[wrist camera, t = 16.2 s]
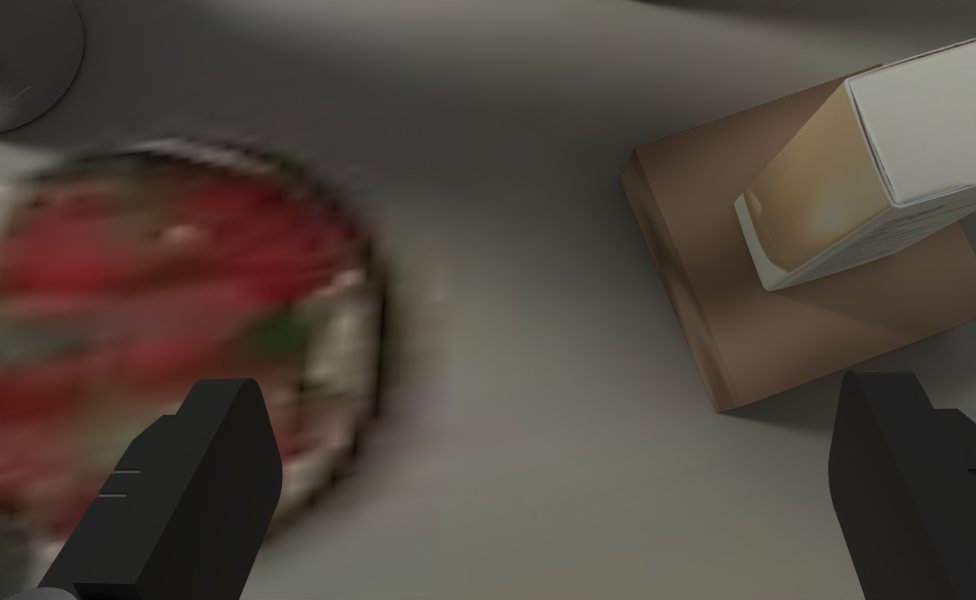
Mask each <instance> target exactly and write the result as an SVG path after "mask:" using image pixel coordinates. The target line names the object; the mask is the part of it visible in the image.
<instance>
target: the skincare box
mask: <svg viewBox="0 0 976 600" xmlns="http://www.w3.org/2000/svg"><path fill="white" fill-rule="evenodd" d="M734 207H735V210H736V213H737V216H738V219H739V222H740V225H741V228H742V231H743V234H744V237H745V240H746V242H747V245H748V248H749V251H750V254H751V256H752V259H753V262H754V264H755V267H756V270H757V272H758V275H759V278H760V280H761V283H762V285H763V287H764V289H765V290H766V291H774V290H778V289H782V288H786V287H790V286H793V285H797V284H800V283H804V282H807V281H811V280H814V279H818V278H821V277H824V276H828V275H831V274H834V273H837V272H840V271H843V270H847V269H850V268H853V267H856V266H859V265H862V264H865V263H868V262H871V261H874V260H877V259H880V258H883V257H886V256H889V255H892V254H894V253H897V252H899V251H901V250H902V249H904V248H906V247H908V246H910V245H912V244H914V243H916V242H918V241H919V240H921V239H923V238H925V237H927V236H929V235H931V234H932V233H934V232H936V231H938V230H940V229H942V228H944V227H946V226H948V225H949V224H951V223H953V222H955V221H957V220H959V219H961V218H963V217H965V216H966V215H968V214H970V213H972V212H974V211H976V38H973V39H969V40H966V41H962V42H959V43H955V44H952V45H949V46H946V47H942V48H939V49H936V50H932V51H929V52H926V53H922V54H919V55H916V56H913V57H910V58H907V59H904V60H900V61H897V62H894V63H891V64H888V65H885V66H882V67H879V68H876V69H873V70H870V71H867V72H864V73H861V74H859V75H856V76H853V77H849V78H847V79H845V81H844V82H843V83H842V84H841V85H840V86H839V87H838V88H837V89H836V91H835V92H834V93H833V94H832V95H831V96H830V97H829V98H828V99H827V100H826V101H825V103H824V104H823V105H822V106H821V107H820V108H819V109H818V110H817V111H816V113H815V114H814V115H813V116H812V117H811V118H810V119H809V120H808V121H807V123H806V124H805V125H804V126H803V127H802V128H801V129H800V130H799V131H798V133H797V134H796V135H795V136H794V137H793V138H792V139H791V140H790V141H789V143H788V144H787V145H786V146H785V147H784V148H783V149H782V150H781V151H780V153H779V154H778V155H777V156H776V157H775V158H774V159H773V160H772V161H771V162H770V163H769V165H768V166H767V167H766V168H765V169H764V170H763V171H762V172H761V173H760V175H759V176H758V177H757V178H756V179H755V180H754V181H753V182H752V183H751V184H750V185H749V187H748V188H747V189H746V190H745V191H744V192H743V193H742V194H741V195H740V196H739V197H738V199H737V200H736V201H735V202H734Z"/></svg>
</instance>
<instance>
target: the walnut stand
mask: <svg viewBox="0 0 976 600" xmlns="http://www.w3.org/2000/svg"><path fill="white" fill-rule="evenodd" d="M879 67H882V64H879V65H876V66H873V67H870V68H867V69H864V70H861V71H858V72H855V73H853V74H850V75H847V76H844V77H841V78H838V79H835V80H832V81H829V82H826V83H824V84H821V85H818V86H815V87H812V88H809V89H806V90H803V91H800V92H797V93H795V94H792V95H789V96H786V97H783V98H780V99H777V100H774V101H771V102H768V103H765V104H763V105H760V106H757V107H754V108H751V109H748V110H745V111H742V112H739V113H736V114H734V115H731V116H728V117H725V118H722V119H719V120H716V121H713V122H710V123H707V124H705V125H702V126H699V127H696V128H693V129H690V130H687V131H684V132H681V133H678V134H676V135H673V136H670V137H667V138H664V139H661V140H658V141H655V142H652V143H649V144H647V145H644V146H641V147H638V148H635V149H634V151H633V153H632V155H631V157H630V159H629V161H628V164H627V166H626V168H625V170H624V172H623V174H622V176H621V178H620V181H621V183H622V186H623V188H624V191H625V193H626V196H627V198H628V200H629V203H630V205H631V208H632V210H633V212H634V215H635V217H636V220H637V222H638V225H639V227H640V229H641V232H642V234H643V237H644V239H645V241H646V244H647V246H648V249H649V251H650V254H651V256H652V258H653V261H654V263H655V266H656V268H657V270H658V273H659V275H660V278H661V280H662V283H663V285H664V287H665V290H666V292H667V295H668V297H669V299H670V302H671V304H672V307H673V309H674V311H675V314H676V316H677V319H678V321H679V324H680V326H681V328H682V331H683V333H684V336H685V338H686V340H687V343H688V345H689V348H690V350H691V353H692V355H693V357H694V360H695V362H696V365H697V367H698V369H699V372H700V374H701V377H702V379H703V382H704V384H705V386H706V389H707V391H708V394H709V396H710V398H711V401H712V403H713V406H714V408H715V411H716V413H718V412H722V411H726V410H730V409H734V408H738V407H742V406H745V405H748V404H751V403H753V402H756V401H759V400H761V399H764V398H767V397H769V396H772V395H775V394H777V393H780V392H783V391H785V390H788V389H791V388H793V387H796V386H799V385H801V384H804V383H807V382H809V381H812V380H815V379H818V378H820V377H823V376H826V375H828V374H831V373H834V372H836V371H839V370H842V369H844V368H847V367H850V366H852V365H855V364H858V363H860V362H863V361H866V360H868V359H871V358H874V357H876V356H879V355H882V354H884V353H887V352H890V351H893V350H895V349H898V348H901V347H903V346H906V345H909V344H911V343H914V342H917V341H919V340H922V339H925V338H927V337H930V336H933V335H935V334H938V333H941V332H943V331H946V330H949V329H951V328H954V327H957V326H959V325H962V324H965V323H968V322H970V321H973V320H976V255H975V253H974V251H973V249H972V247H971V245H970V243H969V241H968V238H967V236H966V234H965V232H964V230H963V228H962V226H961V224H960V222H959V220H957V221H955V222H953V223H951V224H949V225H948V226H946V227H944V228H942V229H940V230H938V231H936V232H934V233H932V234H931V235H929V236H927V237H925V238H923V239H921V240H919V241H918V242H916V243H914V244H912V245H910V246H908V247H906V248H904V249H902V250H901V251H899V252H897V253H894V254H892V255H889V256H886V257H883V258H880V259H877V260H874V261H871V262H868V263H865V264H862V265H859V266H856V267H853V268H850V269H847V270H843V271H840V272H837V273H834V274H831V275H828V276H824V277H821V278H818V279H814V280H811V281H807V282H804V283H800V284H797V285H793V286H790V287H786V288H782V289H778V290H774V291H766V290H765V289H764V287H763V285H762V283H761V280H760V278H759V275H758V272H757V270H756V267H755V264H754V262H753V259H752V256H751V254H750V251H749V248H748V245H747V242H746V240H745V237H744V234H743V231H742V228H741V225H740V222H739V219H738V216H737V213H736V210H735V207H734V202H735V201H736V200H737V199H738V197H739V196H740V195H741V194H742V193H743V192H744V191H745V190H746V189H747V188H748V187H749V185H750V184H751V183H752V182H753V181H754V180H755V179H756V178H757V177H758V176H759V175H760V173H761V172H762V171H763V170H764V169H765V168H766V167H767V166H768V165H769V163H770V162H771V161H772V160H773V159H774V158H775V157H776V156H777V155H778V154H779V153H780V151H781V150H782V149H783V148H784V147H785V146H786V145H787V144H788V143H789V141H790V140H791V139H792V138H793V137H794V136H795V135H796V134H797V133H798V131H799V130H800V129H801V128H802V127H803V126H804V125H805V124H806V123H807V121H808V120H809V119H810V118H811V117H812V116H813V115H814V114H815V113H816V111H817V110H818V109H819V108H820V107H821V106H822V105H823V104H824V103H825V101H826V100H827V99H828V98H829V97H830V96H831V95H832V94H833V93H834V92H835V91H836V89H837V88H838V87H839V86H840V85H841V84H842V83H843V82H844V81H845V79H847V78H849V77H853V76H856V75H859V74H861V73H864V72H867V71H870V70H873V69H876V68H879Z"/></svg>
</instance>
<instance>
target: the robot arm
mask: <svg viewBox="0 0 976 600" xmlns="http://www.w3.org/2000/svg"><path fill="white" fill-rule="evenodd" d="M83 47H84V36H83V25H82V22H81V19H80V15H79V12H78V10H77V8H76V6H75V5H74V3H73V1H72V0H0V132H2V131H7V130H11V129H14V128H17V127H19V126H21V125H24V124H26V123H28V122H31V121H33V120H34V119H35V118H37V117H38V116H40V115H41V114H43V113H44V112H46V111H47V110H49V109H50V108H51V107H52V106H53V105H54V104H55V103H56V102H57V101H58V100H59V99H60V98H61V97H62V96H63V95H64V93H65V92H66V90H67V89H68V87H69V86H70V84H71V83H72V81H73V80H74V78H75V75H76V73H77V70H78V68H79V65H80V63H81V58H82V53H83ZM114 469H115V472H114V474H110V476H109V477H108V479H107V481H106V482H105V484H104V485H103V487H102V488H101V490H100V491H99V498H95V499H94V500H93V502H92V504H91V505H90V507H89V508H88V510H87V511H86V513H85V514H84V516H83V517H82V519H81V520H80V522H79V523H78V525H77V527H76V528H75V530H74V531H73V533H72V534H71V536H70V537H69V539H68V540H67V542H66V543H65V545H64V546H63V548H62V550H61V551H60V553H59V554H58V556H57V557H56V559H55V560H54V562H53V563H52V565H51V566H50V568H49V569H48V571H47V573H46V574H45V576H44V577H43V579H42V580H41V582H40V583H39V585H38V586H37V588H35V589H29V590H26V591H22V592H19V593H16V594H14V595H11V596H9V597H7V598H5V599H3V600H239V598H240V596H241V593H242V591H243V588H244V586H245V583H246V581H247V578H248V576H249V574H250V571H251V569H252V566H253V564H254V561H255V559H256V556H257V554H258V551H259V549H260V546H261V544H262V541H263V539H264V536H265V534H266V531H267V529H268V526H269V524H270V521H271V519H272V516H273V514H274V511H275V509H276V506H277V504H278V501H279V498H280V494H281V488H282V462H281V457H280V453H279V450H278V446H277V443H276V440H275V436H274V433H273V429H272V426H271V423H270V419H269V416H268V413H267V409H266V406H265V402H264V399H263V396H262V392H261V389H260V387H259V385H258V383H257V382H256V381H255V380H254V379H251V378H238V379H201V380H199V381H197V382H196V383H195V384H194V385H193V387H192V388H191V390H190V392H189V393H188V395H187V397H186V398H185V400H184V402H183V403H182V405H181V406H180V408H179V410H178V411H177V413H176V415H162V416H161V417H160V418H159V419H158V420H156V421H155V422H154V423H153V424H152V425H150V426H149V427H148V428H147V429H146V430H144V431H143V432H142V433H141V434H140V435H138V436H137V437H136V438H135V439H134V440H133V441H132V442H131V444H130V445H129V447H128V448H127V450H126V451H125V453H124V454H123V456H122V458H121V459H120V461H119V462H118V464H117V465H116V467H115V468H114ZM828 475H829V487H830V493H831V498H832V503H833V506H834V509H835V512H836V515H837V518H838V521H839V523H840V526H841V529H842V532H843V535H844V538H845V541H846V544H847V547H848V550H849V552H850V555H851V558H852V561H853V564H854V567H855V570H856V573H857V576H858V579H859V582H860V584H861V587H862V590H863V593H864V596H865V599H866V600H976V423H974V422H973V421H972V420H971V419H969V418H968V417H967V416H966V415H964V414H963V413H962V412H961V411H959V410H958V409H934V408H933V406H932V405H931V403H930V401H929V399H928V397H927V395H926V394H925V392H924V390H923V388H922V386H921V385H920V383H919V381H918V379H917V377H916V376H915V374H914V373H913V372H912V371H910V370H849V371H847V372H846V373H845V375H844V378H843V381H842V385H841V391H840V396H839V402H838V408H837V414H836V420H835V425H834V431H833V437H832V443H831V448H830V454H829V464H828Z"/></svg>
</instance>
